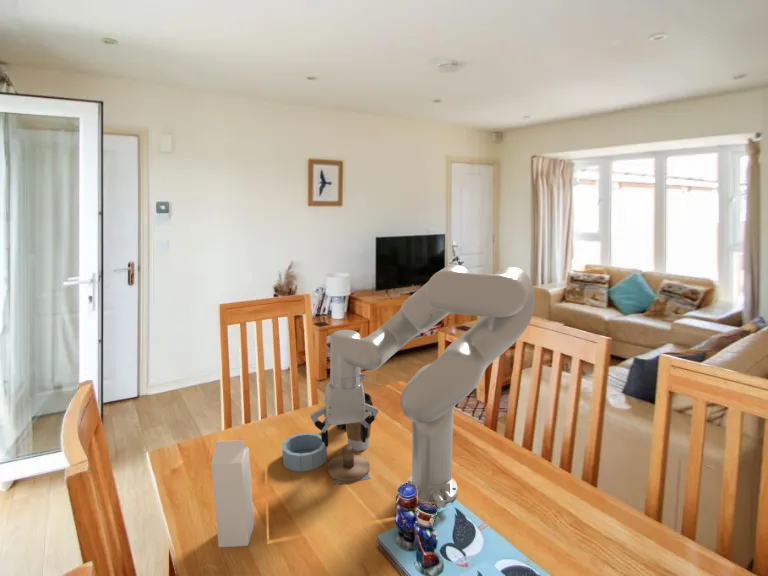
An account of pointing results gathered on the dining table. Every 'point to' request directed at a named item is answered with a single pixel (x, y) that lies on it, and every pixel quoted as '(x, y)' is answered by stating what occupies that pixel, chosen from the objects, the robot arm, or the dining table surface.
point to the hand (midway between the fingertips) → (344, 441)
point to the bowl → (304, 452)
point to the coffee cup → (354, 430)
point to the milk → (232, 493)
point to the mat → (351, 481)
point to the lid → (348, 466)
